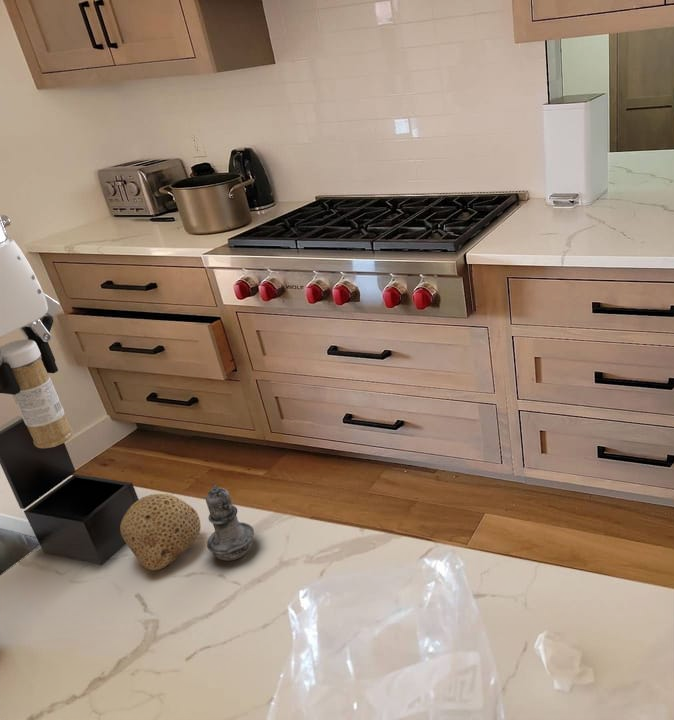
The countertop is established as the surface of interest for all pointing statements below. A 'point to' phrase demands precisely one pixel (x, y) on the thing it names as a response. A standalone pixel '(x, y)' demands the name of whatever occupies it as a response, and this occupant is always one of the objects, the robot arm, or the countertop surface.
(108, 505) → the black open box
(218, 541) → the grey chess piece
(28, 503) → the lid
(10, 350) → the sprinkles bottle
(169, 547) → the natural sponge
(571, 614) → the countertop surface
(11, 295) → the robot arm
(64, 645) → the countertop surface
